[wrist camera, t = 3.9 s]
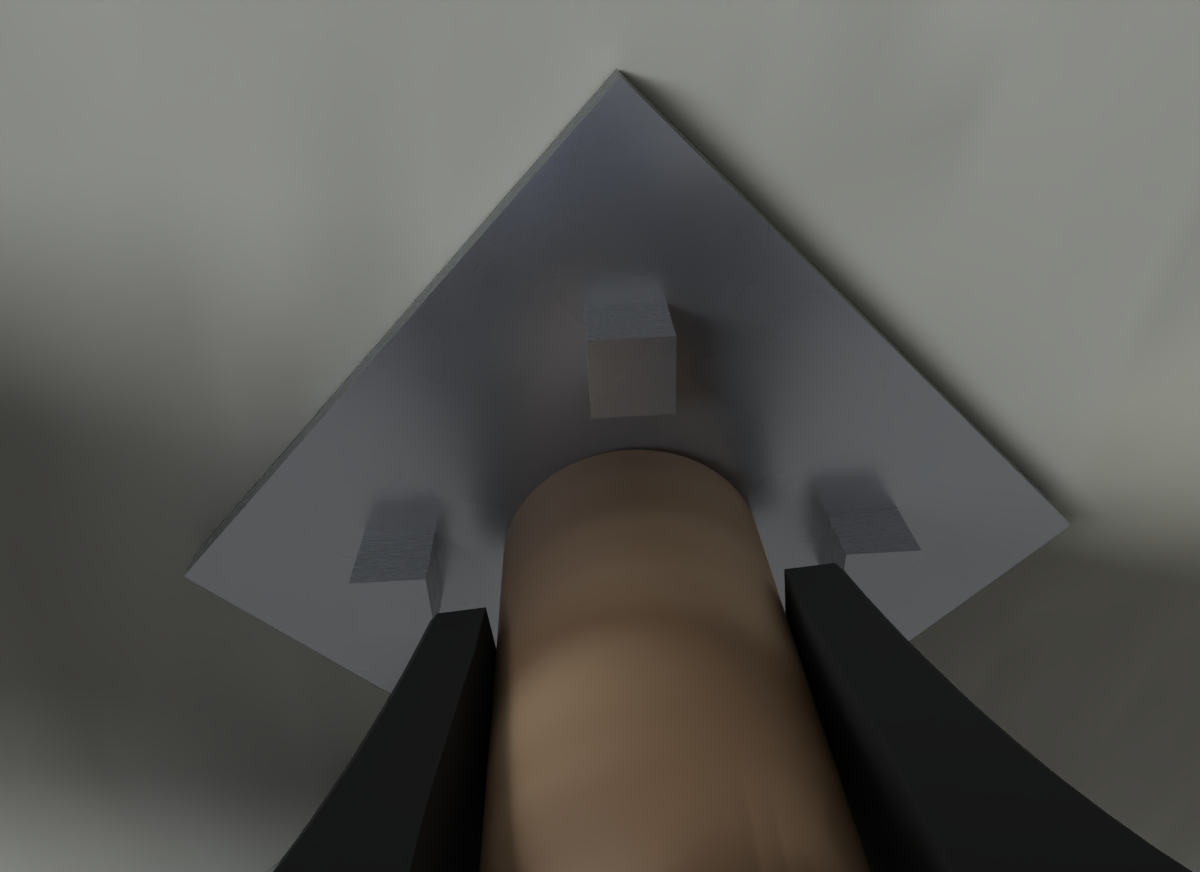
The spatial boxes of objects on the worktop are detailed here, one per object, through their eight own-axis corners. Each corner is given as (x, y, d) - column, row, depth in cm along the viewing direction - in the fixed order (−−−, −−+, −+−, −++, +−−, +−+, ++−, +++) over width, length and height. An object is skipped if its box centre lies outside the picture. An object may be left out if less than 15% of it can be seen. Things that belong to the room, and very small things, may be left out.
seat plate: (198, 550, 13) (156, 625, 12) (616, 67, 10) (626, 93, 9) (636, 805, 17) (643, 886, 15) (1051, 501, 13) (1109, 568, 12)
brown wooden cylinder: (532, 695, 14) (512, 1465, 7) (472, 428, 11) (353, 1207, 5) (764, 666, 14) (974, 1417, 7) (752, 392, 11) (1059, 1128, 4)
